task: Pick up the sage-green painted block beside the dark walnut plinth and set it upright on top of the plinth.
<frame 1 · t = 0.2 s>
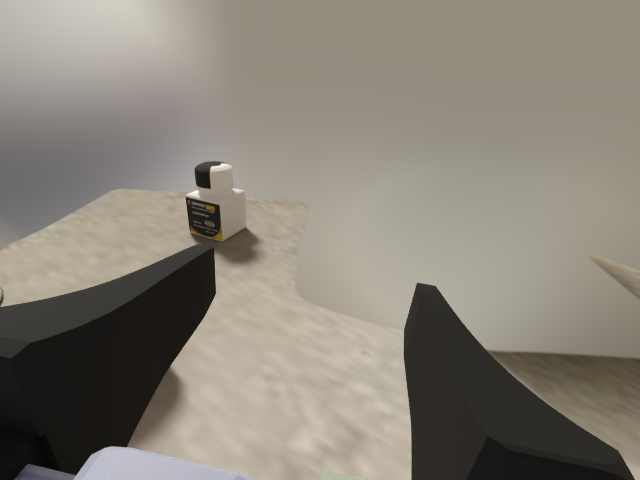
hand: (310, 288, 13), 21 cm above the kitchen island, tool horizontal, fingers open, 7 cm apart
medicine bottle: (218, 231, 66), on the kitchen island
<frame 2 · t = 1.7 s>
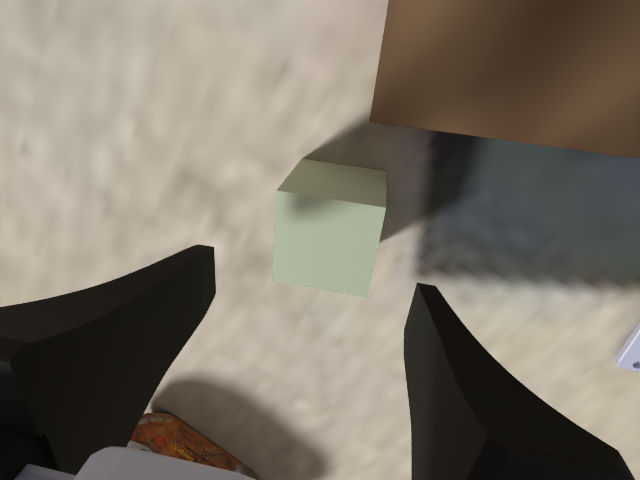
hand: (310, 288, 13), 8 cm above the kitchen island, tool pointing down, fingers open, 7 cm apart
tin: (204, 445, 33), on the kitchen island
block: (338, 203, 20), on the kitchen island
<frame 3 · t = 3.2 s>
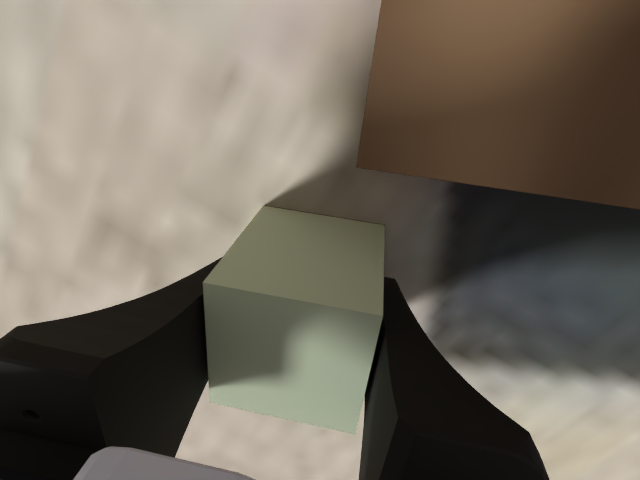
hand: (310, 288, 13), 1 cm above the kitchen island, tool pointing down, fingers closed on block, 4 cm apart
block: (317, 267, 14), on the kitchen island, touching gripper
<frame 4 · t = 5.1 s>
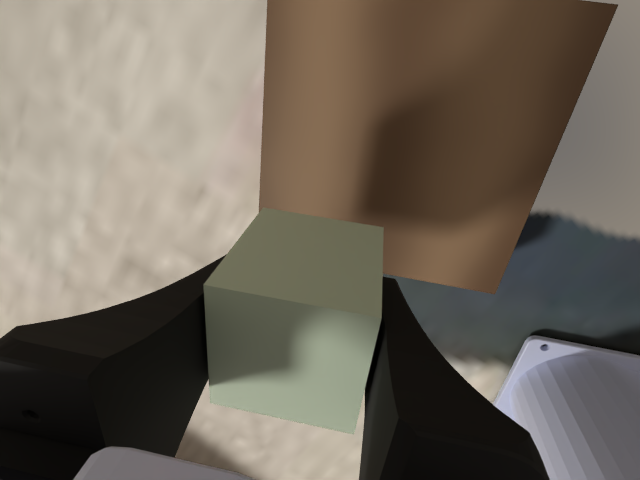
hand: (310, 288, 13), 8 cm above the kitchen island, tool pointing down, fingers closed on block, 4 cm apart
plinth: (397, 138, 18), on the kitchen island
block: (316, 268, 14), point 7 cm above the kitchen island, touching gripper
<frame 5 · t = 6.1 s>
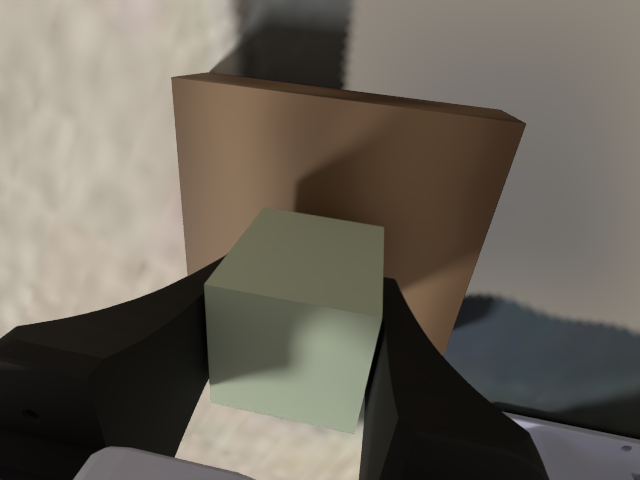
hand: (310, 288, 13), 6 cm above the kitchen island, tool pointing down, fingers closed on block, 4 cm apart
plinth: (331, 223, 18), on the kitchen island
block: (316, 268, 14), point 4 cm above the kitchen island, touching gripper
when the fingers open (5 cm above the kitchen island, at t = 7.0 s): block stays where it is, resting on plinth.
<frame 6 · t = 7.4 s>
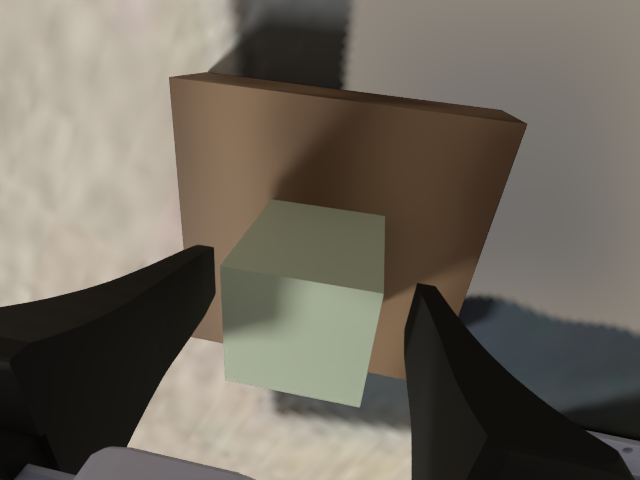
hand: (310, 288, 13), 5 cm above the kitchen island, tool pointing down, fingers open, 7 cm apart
plinth: (331, 223, 18), on the kitchen island
block: (322, 256, 15), point 3 cm above the kitchen island, touching plinth
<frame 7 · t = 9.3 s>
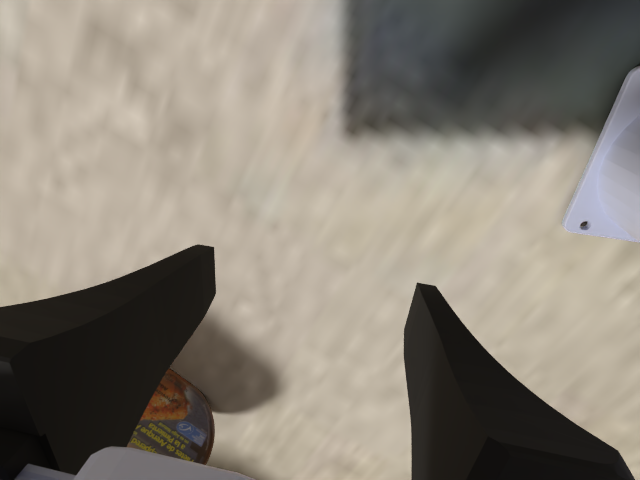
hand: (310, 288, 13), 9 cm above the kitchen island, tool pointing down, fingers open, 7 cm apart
tin: (153, 367, 31), on the kitchen island
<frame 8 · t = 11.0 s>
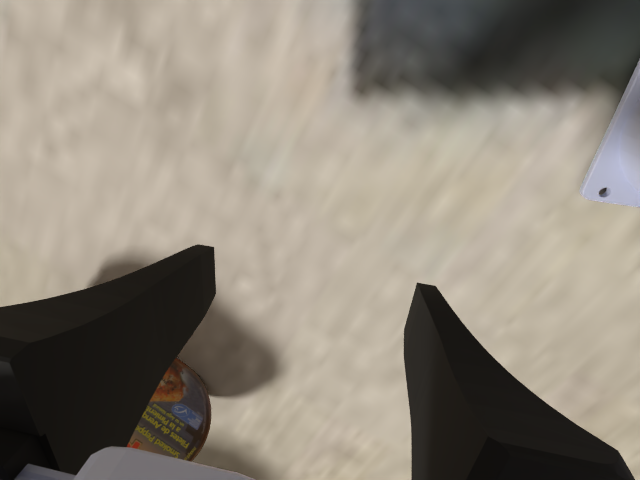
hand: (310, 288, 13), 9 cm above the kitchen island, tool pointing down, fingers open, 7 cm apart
tin: (148, 348, 30), on the kitchen island
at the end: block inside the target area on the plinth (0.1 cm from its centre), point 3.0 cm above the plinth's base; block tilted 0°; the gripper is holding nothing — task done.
